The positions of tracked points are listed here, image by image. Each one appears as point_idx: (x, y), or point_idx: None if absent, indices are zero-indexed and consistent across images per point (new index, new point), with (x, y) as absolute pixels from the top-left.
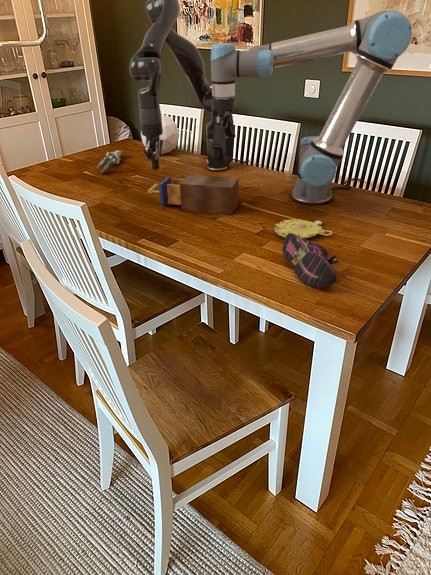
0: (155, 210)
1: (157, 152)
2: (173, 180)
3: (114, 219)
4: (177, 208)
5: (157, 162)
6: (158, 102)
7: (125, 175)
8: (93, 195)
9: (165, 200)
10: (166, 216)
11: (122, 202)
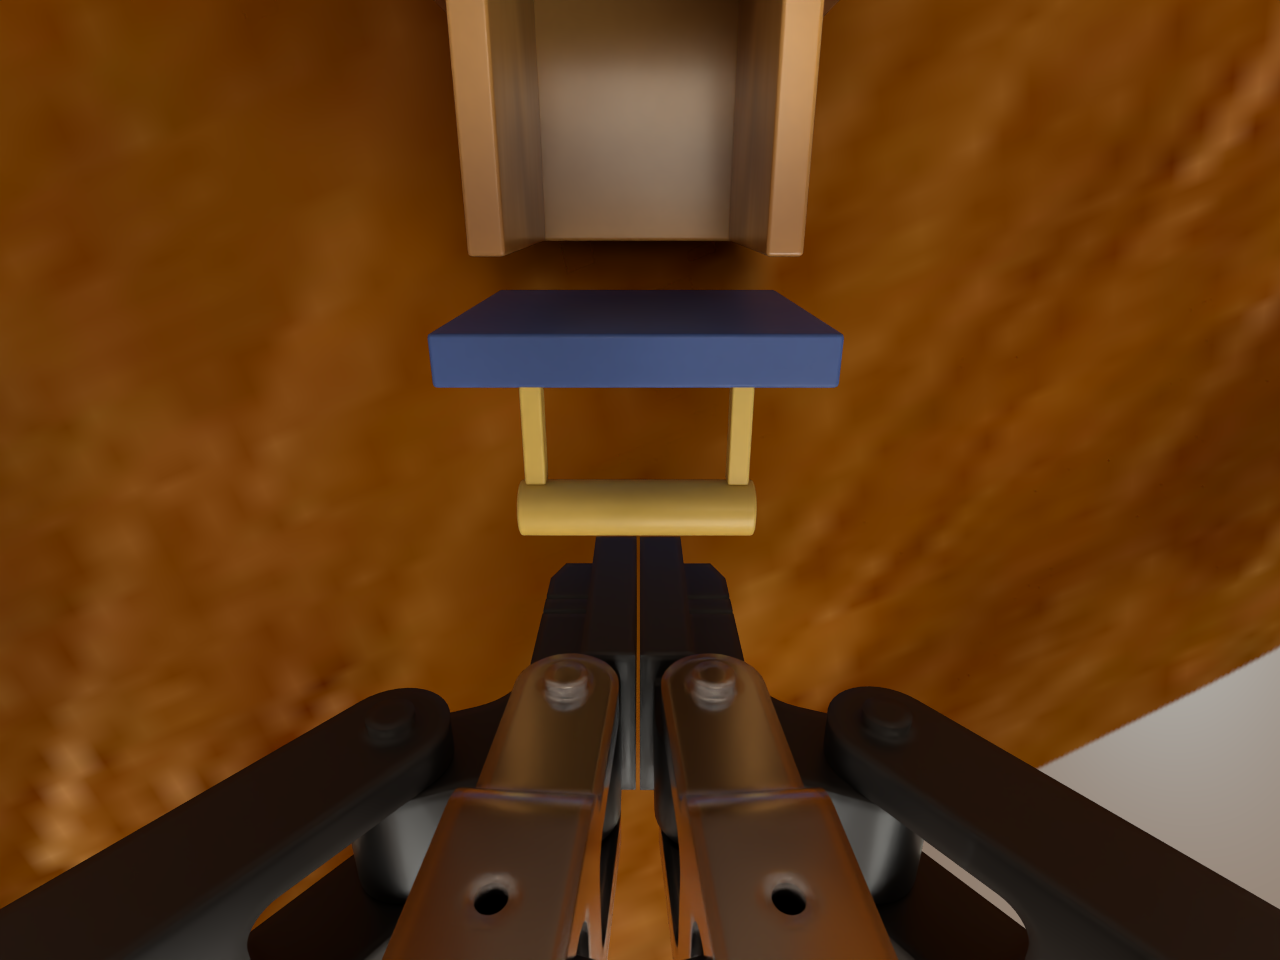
0: (844, 353)
1: (741, 804)
2: (510, 244)
3: (1081, 626)
4: None
5: (673, 612)
6: None
7: None
8: None
9: (717, 294)
10: (1000, 161)
11: None
